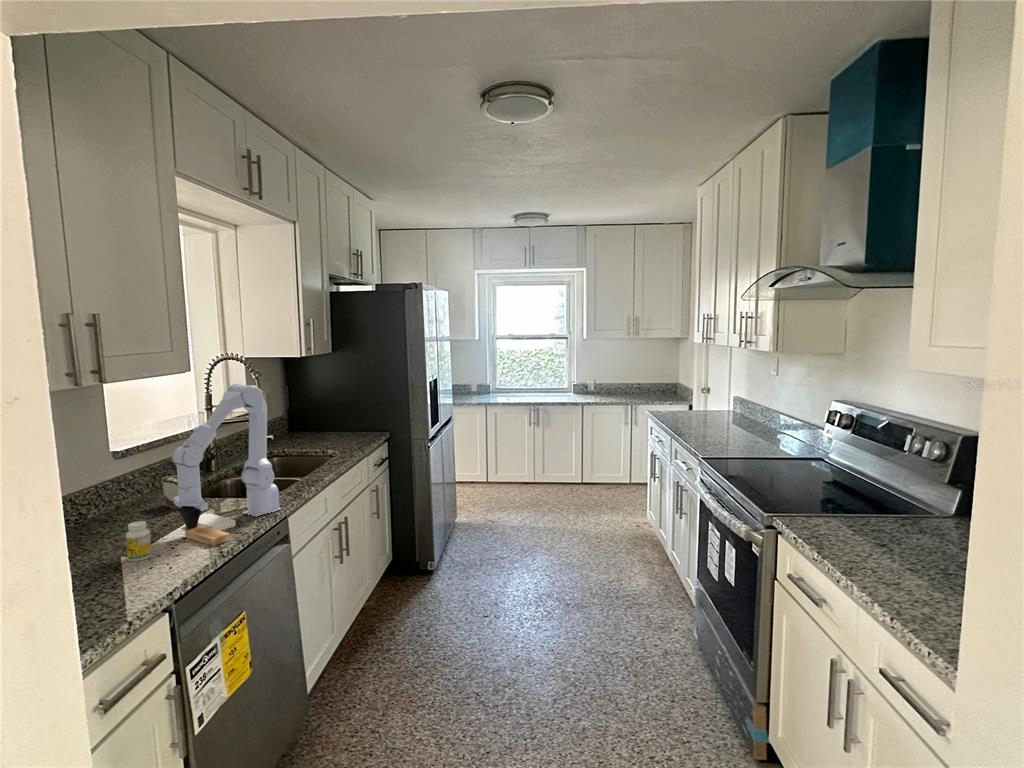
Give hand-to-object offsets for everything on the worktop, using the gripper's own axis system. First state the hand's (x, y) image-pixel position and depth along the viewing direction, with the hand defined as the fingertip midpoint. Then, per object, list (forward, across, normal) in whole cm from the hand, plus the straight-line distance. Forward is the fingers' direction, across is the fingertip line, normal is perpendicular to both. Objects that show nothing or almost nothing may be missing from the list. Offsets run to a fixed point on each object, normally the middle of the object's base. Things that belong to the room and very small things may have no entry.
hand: (192, 529), depth 159 cm
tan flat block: (+1, +8, 0) cm, 8 cm away
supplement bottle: (+2, +4, -17) cm, 17 cm away
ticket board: (+1, -2, +6) cm, 7 cm away
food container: (+2, -32, +14) cm, 35 cm away
